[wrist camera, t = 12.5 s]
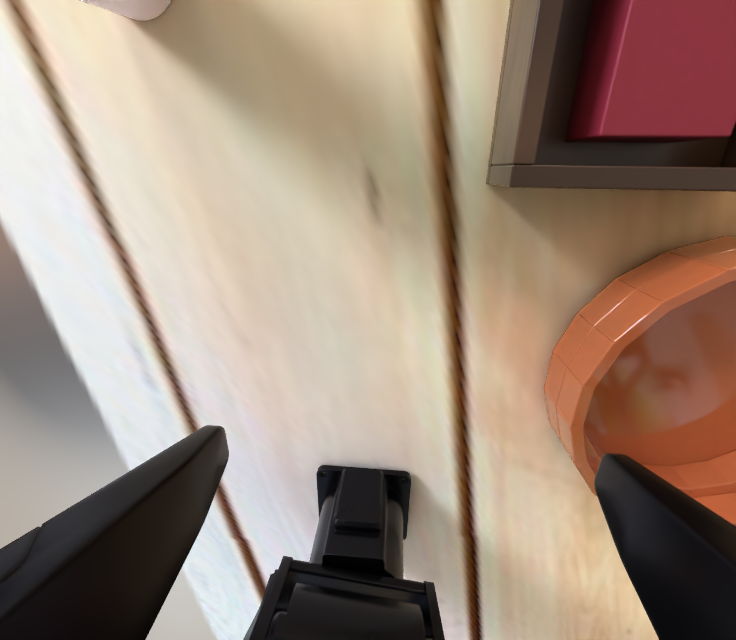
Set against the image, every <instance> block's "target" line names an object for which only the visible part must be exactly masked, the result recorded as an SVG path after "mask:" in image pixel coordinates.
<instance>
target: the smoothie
mask: <svg viewBox="0 0 736 640" xmlns="http://www.w3.org/2000/svg"><path fill="white" fill-rule="evenodd" d="M80 1H83V2H85V3H88V4H91V5H94V6H97V7H100V8H103V9H106V10H108V11H111V12H114V13H117V14H120V15H123V16H126V17H128V18H131V19H135V20H141V21H145V20H151V19H154V18H156V17H158V16H159V15H161V14H162V13H163V12H164V11H165V10H166V8H167V7H168V5H169V4H170V2H171V0H80Z"/></svg>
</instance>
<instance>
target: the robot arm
mask: <svg viewBox="0 0 736 640" xmlns="http://www.w3.org/2000/svg"><path fill="white" fill-rule="evenodd" d="M228 457H229V450H228V445H227V439H226V434H225V430H224V428H223V427H221V426H212V425H207V426H204V427H202V428H201V429H199V430H197V431H196V432H194V433H192V434H191V435H189V436H187V437H186V438H184V439H183V440H181V441H179V442H178V443H176V444H174V445H173V446H171V447H169V448H168V449H166V450H164V451H163V452H161V453H159V454H158V455H156V456H154V457H153V458H151V459H149V460H148V461H146V462H144V463H143V464H141V465H139V466H138V467H136V468H134V469H133V470H131V471H129V472H128V473H126V474H124V475H123V476H121V477H120V478H118V479H116V480H115V481H113V482H111V483H110V484H108V485H106V486H105V487H103V488H101V489H100V490H98V491H96V492H95V493H93V494H91V495H90V496H88V497H86V498H85V499H83V500H81V501H80V502H78V503H76V504H75V505H73V506H71V507H70V508H68V509H66V510H65V511H63V512H61V513H60V514H58V515H56V516H55V517H53V518H52V519H50V520H48V521H46V522H45V523H43V524H42V526H41V527H36V528H35V529H33V530H31V531H30V532H28V533H26V534H25V535H23V536H22V537H20V538H18V539H16V540H15V541H13V542H11V543H10V544H8V545H6V546H5V547H3V548H1V549H0V640H145V639H146V637H147V635H148V633H149V631H150V629H151V627H152V625H153V623H154V621H155V619H156V617H157V615H158V613H159V611H160V609H161V607H162V605H163V603H164V601H165V599H166V597H167V595H168V593H169V591H170V589H171V587H172V585H173V584H174V582H175V580H176V578H177V575H178V574H179V572H180V570H181V568H182V566H183V564H184V562H185V560H186V558H187V556H188V554H189V552H190V550H191V548H192V546H193V544H194V542H195V540H196V538H197V536H198V534H199V532H200V530H201V527H202V525H203V523H204V521H205V518H206V516H207V514H208V511H209V508H210V506H211V503H212V501H213V498H214V495H215V493H216V490H217V488H218V485H219V482H220V480H221V477H222V475H223V472H224V469H225V467H226V464H227V461H228ZM323 472H324V473H323ZM410 487H411V476H410V474H409V473H408V472H405V471H395V470H381V469H368V468H355V467H342V466H329V465H322V466H320V467H319V468H318V471H317V489H318V506H319V523H318V527H317V531H316V536H315V540H314V544H313V548H312V553H311V557H310V561H309V562H304V561H299V560H293V558H292V557H287V556H283V559H282V562H281V564H280V567H279V569H278V570H277V569H276V570H275V573H273V574H271V575H270V578H269V581H268V584H267V587H266V590H265V594H264V597H263V600H262V602H261V605H260V607H259V610H258V612H257V614H256V616H255V618H254V620H253V622H252V624H251V626H250V628H249V629H248V631H247V633H246V635H245V637H244V639H243V640H445V638H444V633H443V628H442V623H441V617H440V612H439V607H438V602H437V597H436V592H435V586H434V583H433V582H427V581H424V582H423V583H422V582H416V581H411V580H405V579H403V540H405V539H406V536H407V524H408V512H409V499H410ZM594 487H595V491H596V494H597V497H598V499H599V502H600V505H601V507H602V510H603V513H604V516H605V518H606V521H607V524H608V526H609V529H610V532H611V534H612V537H613V540H614V542H615V545H616V548H617V550H618V553H619V555H620V558H621V560H622V562H623V565H624V567H625V569H626V571H627V573H628V575H629V578H630V580H631V582H632V584H633V586H634V588H635V590H636V592H637V594H638V596H639V598H640V600H641V603H642V605H643V607H644V609H645V611H646V613H647V615H648V617H649V619H650V621H651V623H652V625H653V627H654V630H655V632H656V634H657V636H658V638H659V640H736V526H735V525H733V524H732V523H730V522H729V521H727V520H726V519H724V518H723V517H721V516H719V515H718V514H716V513H715V512H713V511H712V510H710V509H709V508H707V507H706V506H704V505H703V504H701V503H700V502H698V501H696V500H695V499H693V498H692V497H690V496H689V495H687V494H686V493H684V492H683V491H681V490H680V489H678V488H676V487H675V486H673V485H672V484H670V483H669V482H667V481H666V480H664V479H663V478H661V477H660V476H658V475H656V474H655V473H653V472H652V471H650V470H649V469H647V468H646V467H644V466H643V465H641V464H640V463H638V462H637V461H635V460H633V459H632V458H630V457H629V456H627V455H625V454H617V453H606V454H604V455H603V456H602V458H601V461H600V464H599V467H598V470H597V473H596V475H595V479H594Z"/></svg>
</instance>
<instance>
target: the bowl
mask: <svg viewBox="0 0 736 640" xmlns="http://www.w3.org/2000/svg"><path fill="white" fill-rule="evenodd" d="M544 387H545V388H544V391H545V398H546V404H547V411H548V418H549V421H550V424H551V425H552V427H553V429H554V430H555V432H556V434H557V435H558V437H559V439H560V441H561V442H562V444H563V446H564V447H565V449H566V451H567V452H568V454H569V456H570V458H571V459H572V461H573V463H574V464H575V466H576V467H577V469H578V471H579V472H580V474H581V475H582V477H583V479H584V480H585V482H586V483H587V485H588V487H589V488H590V490H591V491H592V493H593V494H594V495H596V496H597V494H596V491H595V487H594V479H595V475H596V473H597V470H598V467H599V464H600V461H601V458H602V456H603V455H604V454H606V453H617V454H625V455H627V456H629V457H630V458H632V459H633V460H635V461H637V462H638V463H640V464H641V465H643V466H644V467H646V468H647V469H649V470H650V471H652V472H653V473H655V474H656V475H658V476H660V477H661V478H663V479H664V480H666V481H667V482H669V483H670V484H672V485H673V486H675V487H676V488H678V489H680V490H681V491H683V492H684V493H686V494H687V495H689V496H690V497H692V498H693V499H695V500H696V501H698V502H700V503H701V504H703V505H704V506H706V507H707V508H709V509H710V510H712V511H713V512H715V513H716V514H718V515H719V516H721V517H723V518H724V519H726V520H727V521H729V522H730V523H732V524H733V525H735V526H736V237H721V238H717V239H713V240H709V241H705V242H701V243H697V244H693V245H689V246H685V247H681V248H677V249H673V250H669V251H667V252H664V253H663V254H661V255H659V256H657V257H655V258H653V259H651V260H649V261H647V262H646V263H644V264H642V265H640V266H638V267H636V268H634V269H632V270H630V271H629V272H627V273H625V274H623V275H621V276H619V277H618V278H617V279H615V280H613V281H612V282H611V283H610V284H609V285H608V286H607V287H606V288H604V289H603V290H602V291H601V292H600V293H599V294H598V295H597V296H596V297H594V298H593V299H592V300H591V301H590V302H589V303H588V304H587V305H585V306H584V307H583V308H582V309H581V310H580V311H579V312H578V313H577V314H576V315H575V317H574V319H573V320H572V322H571V323H570V325H569V326H568V328H567V330H566V331H565V333H564V334H563V336H562V337H561V339H560V341H559V342H558V344H557V345H556V347H555V348H554V351H553V354H552V358H551V362H550V366H549V370H548V374H547V378H546V382H545V386H544Z"/></svg>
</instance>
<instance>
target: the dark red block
mask: <svg viewBox="0 0 736 640" xmlns="http://www.w3.org/2000/svg"><path fill="white" fill-rule="evenodd" d="M735 123H736V0H594V3H593V8H592V13H591V18H590V23H589V27H588V32H587V37H586V42H585V47H584V52H583V57H582V62H581V66H580V71H579V76H578V81H577V86H576V91H575V96H574V101H573V105H572V110H571V115H570V120H569V125H568V130H567V135H566V140H565V141H566V142H624V143H674V142H685V141H695V140H705V139H715V138H725V137H729V136H730V135H731V134H732V131H733V128H734V126H735Z"/></svg>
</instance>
